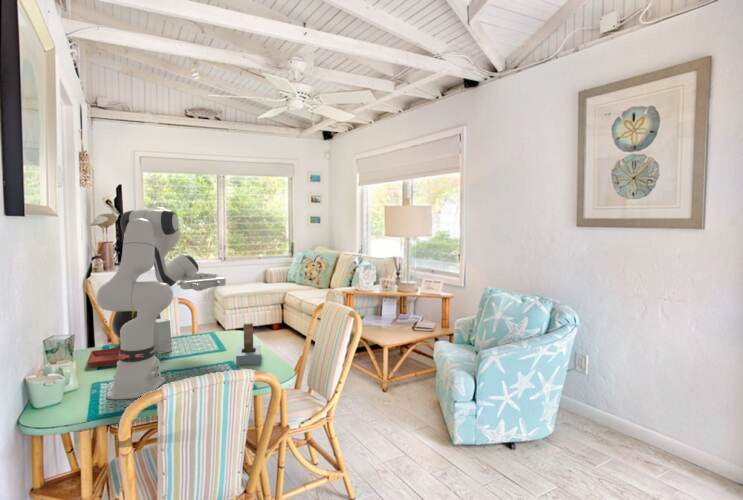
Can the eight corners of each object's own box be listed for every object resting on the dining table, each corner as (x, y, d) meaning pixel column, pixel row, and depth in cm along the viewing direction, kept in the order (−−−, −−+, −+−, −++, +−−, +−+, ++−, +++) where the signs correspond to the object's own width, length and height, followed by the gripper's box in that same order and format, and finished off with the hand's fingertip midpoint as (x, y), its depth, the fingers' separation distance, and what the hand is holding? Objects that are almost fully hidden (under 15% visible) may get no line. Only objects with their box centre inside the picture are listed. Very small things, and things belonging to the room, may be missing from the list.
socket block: (260, 363, 196) (260, 354, 196) (236, 365, 194) (236, 356, 194) (260, 353, 210) (260, 345, 210) (238, 355, 208) (237, 346, 207)
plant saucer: (91, 357, 203) (91, 350, 203) (136, 352, 211) (136, 345, 211) (86, 370, 187) (86, 362, 187) (135, 364, 195) (135, 356, 195)
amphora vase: (141, 352, 211) (140, 292, 209) (102, 348, 215) (99, 290, 213) (171, 339, 232) (169, 285, 230) (134, 336, 236) (132, 283, 234)
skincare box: (172, 351, 212) (171, 320, 211) (158, 354, 208) (157, 322, 207) (165, 347, 218) (165, 317, 217) (152, 350, 214) (151, 319, 213)
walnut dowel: (253, 360, 201) (252, 324, 199) (243, 361, 200) (243, 325, 198) (253, 357, 204) (253, 322, 203) (244, 358, 203) (243, 323, 202)
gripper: (175, 276, 211) (185, 280, 200) (218, 273, 224) (230, 276, 214) (176, 290, 211) (186, 294, 201) (218, 285, 225) (230, 289, 214)
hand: (209, 285), depth 207 cm, fingers open, 8 cm apart
